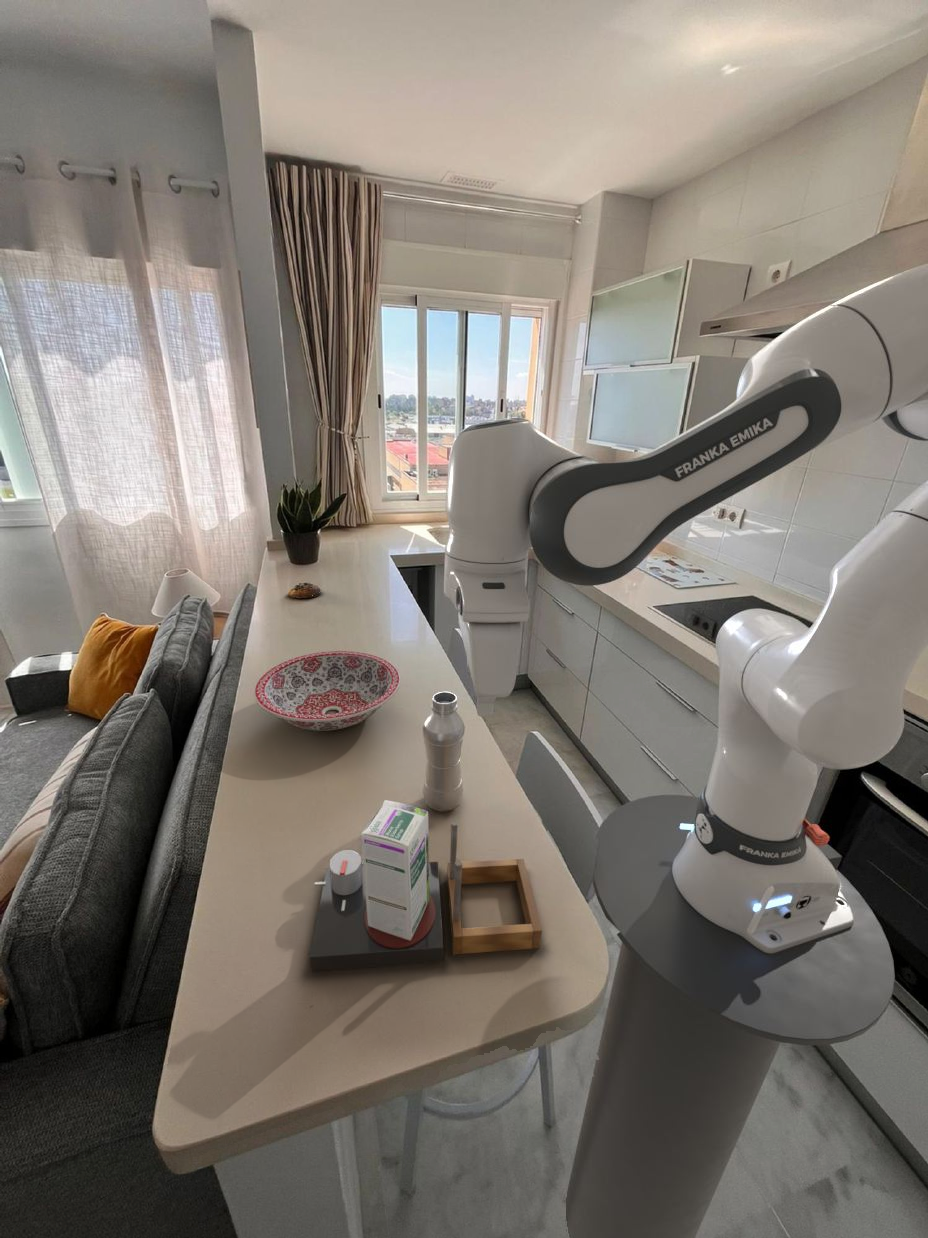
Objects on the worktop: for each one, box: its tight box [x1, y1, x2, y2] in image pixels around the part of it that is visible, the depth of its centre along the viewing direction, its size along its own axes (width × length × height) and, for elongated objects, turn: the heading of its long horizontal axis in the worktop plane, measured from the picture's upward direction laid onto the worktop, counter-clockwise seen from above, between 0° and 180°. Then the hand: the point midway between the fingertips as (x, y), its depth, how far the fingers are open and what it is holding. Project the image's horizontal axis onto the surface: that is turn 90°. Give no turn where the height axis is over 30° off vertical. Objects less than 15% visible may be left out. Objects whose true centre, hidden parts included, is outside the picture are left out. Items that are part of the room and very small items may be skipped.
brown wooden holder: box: [446, 820, 543, 955], centre depth 62 cm, size 10×10×12 cm
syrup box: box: [360, 799, 430, 941], centre depth 57 cm, size 6×6×14 cm
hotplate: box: [364, 894, 435, 949], centre depth 60 cm, size 9×9×1 cm
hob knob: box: [328, 849, 363, 895], centre depth 64 cm, size 4×4×4 cm
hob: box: [308, 861, 444, 973], centre depth 63 cm, size 16×14×3 cm
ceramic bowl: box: [253, 650, 401, 732], centre depth 104 cm, size 29×29×8 cm
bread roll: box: [287, 582, 322, 599], centre depth 176 cm, size 11×11×5 cm
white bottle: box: [422, 691, 466, 812], centre depth 78 cm, size 6×7×20 cm
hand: (479, 691), depth 59 cm, fingers open, 8 cm apart
